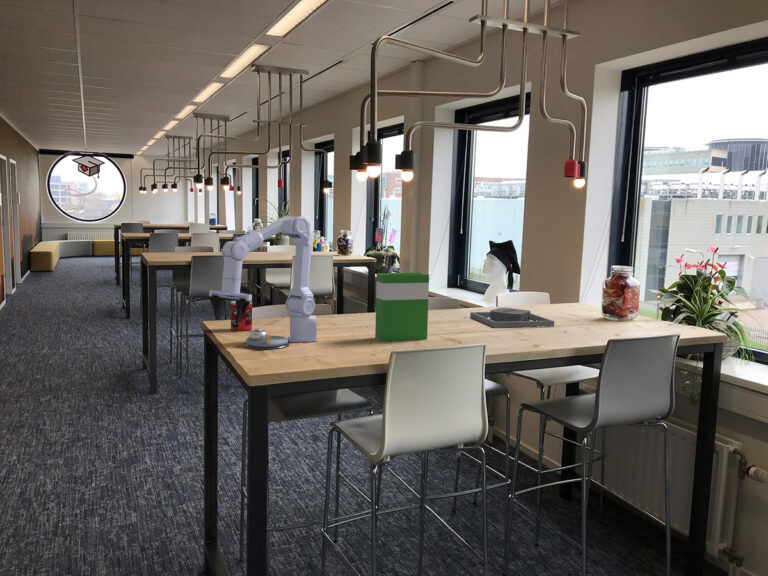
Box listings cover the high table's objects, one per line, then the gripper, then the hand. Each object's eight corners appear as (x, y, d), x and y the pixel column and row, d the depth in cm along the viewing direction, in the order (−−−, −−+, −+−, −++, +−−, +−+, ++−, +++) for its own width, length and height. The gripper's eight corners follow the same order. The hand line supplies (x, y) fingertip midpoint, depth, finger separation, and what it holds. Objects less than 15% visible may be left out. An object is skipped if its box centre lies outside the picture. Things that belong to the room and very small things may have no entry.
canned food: (229, 328, 241) (229, 300, 240) (249, 327, 244) (249, 300, 243) (232, 332, 234) (232, 303, 233) (253, 331, 237) (253, 302, 236)
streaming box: (501, 318, 283) (502, 307, 282) (532, 322, 274) (532, 310, 274) (487, 322, 271) (488, 310, 270) (518, 326, 263) (519, 314, 262)
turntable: (245, 339, 218) (245, 327, 217) (286, 338, 221) (286, 326, 221) (246, 348, 203) (246, 335, 203) (289, 347, 207) (290, 334, 206)
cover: (266, 337, 215) (266, 327, 215) (267, 341, 210) (267, 330, 209) (248, 338, 214) (248, 327, 214) (249, 341, 208) (249, 331, 208)
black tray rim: (524, 316, 289) (525, 311, 289) (554, 326, 263) (554, 321, 263) (470, 317, 282) (470, 312, 282) (494, 328, 256) (494, 322, 256)
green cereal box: (419, 335, 236) (420, 272, 234) (427, 339, 229) (429, 274, 227) (375, 337, 230) (376, 273, 227) (382, 341, 223) (383, 275, 221)
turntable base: (287, 340, 222) (287, 338, 222) (291, 349, 207) (291, 347, 207) (244, 341, 218) (244, 340, 218) (245, 350, 204) (245, 348, 204)
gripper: (205, 276, 198) (201, 318, 199) (245, 280, 194) (241, 324, 195) (217, 276, 205) (213, 317, 206) (256, 281, 201) (252, 322, 201)
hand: (228, 320), depth 201 cm, fingers open, 7 cm apart
